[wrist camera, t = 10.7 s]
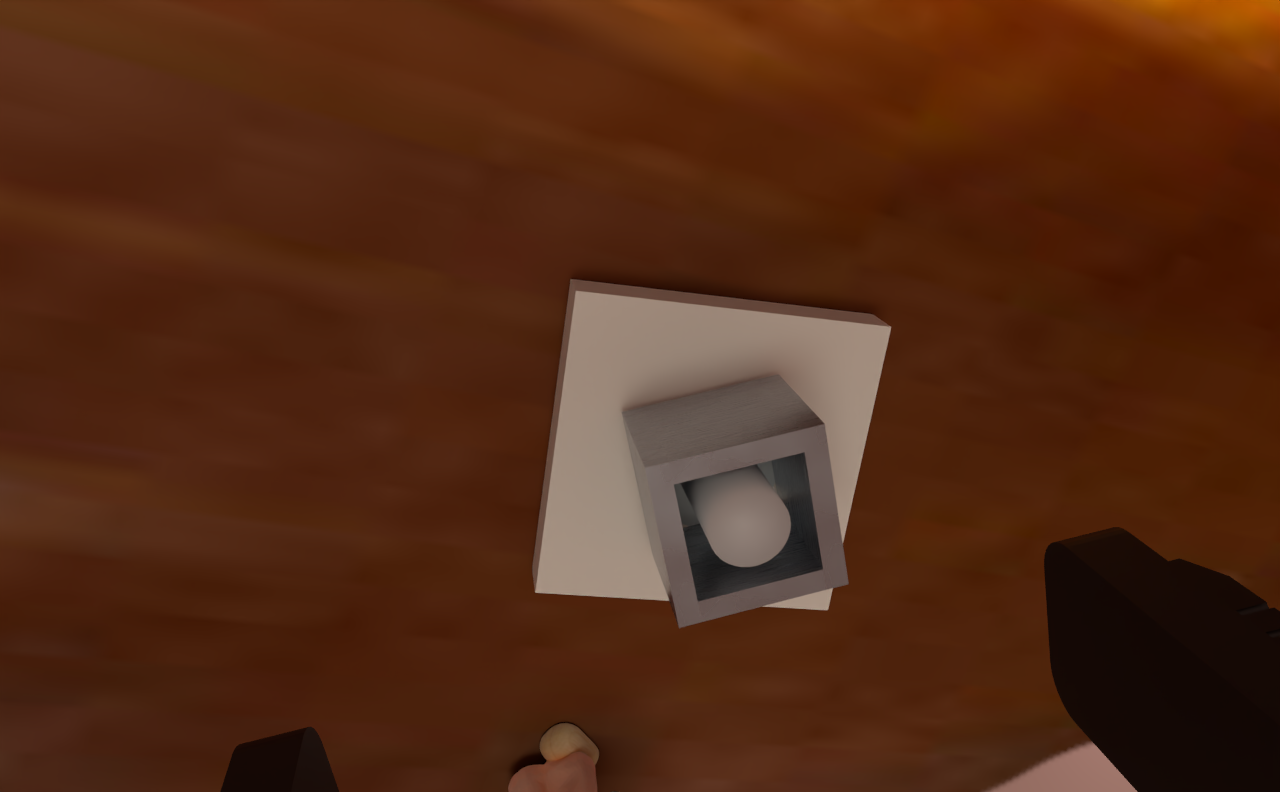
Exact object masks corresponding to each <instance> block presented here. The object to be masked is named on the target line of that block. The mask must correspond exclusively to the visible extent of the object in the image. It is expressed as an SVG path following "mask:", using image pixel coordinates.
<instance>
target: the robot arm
mask: <svg viewBox="0 0 1280 792" xmlns="http://www.w3.org/2000/svg"><path fill="white" fill-rule="evenodd" d="M1044 569H1045V585H1046V600H1047V616H1048V631H1049V647H1050V662H1051V669H1052V674H1053V678H1054V682H1055V685H1056V688H1057V691H1058V693H1059V696H1060V698H1061V700H1062V702H1063V704H1064V706H1065V708H1066V710H1067V712H1068V713H1069V715H1070V716H1071V718H1072V719H1073V720H1074V721H1075V723H1076V724H1077V725H1078V726H1079V727H1080V728H1081V729H1082V731H1083V732H1084V733H1085V734H1086V735H1087V736H1088V737H1089V738H1090V739H1091V741H1092V742H1093V743H1094V744H1095V745H1096V746H1097V747H1098V748H1099V749H1100V750H1101V752H1102V753H1103V754H1104V755H1105V756H1106V757H1107V758H1108V759H1109V760H1110V762H1111V763H1112V764H1113V765H1114V766H1115V767H1116V768H1117V769H1118V770H1119V772H1120V773H1121V774H1122V775H1123V776H1124V777H1125V778H1126V779H1127V780H1128V782H1129V783H1130V784H1131V785H1132V786H1133V787H1134V788H1135V789H1136V790H1137V791H1138V792H1280V611H1278V610H1277V609H1276V608H1271V609H1269V607H1268V606H1267V602H1266V601H1264V600H1263V599H1261V598H1260V597H1258V596H1257V595H1255V594H1254V593H1253V592H1251V591H1250V590H1248V589H1247V588H1245V587H1244V586H1243V585H1241V584H1240V583H1238V582H1237V581H1235V580H1234V579H1232V578H1231V577H1230V576H1227V575H1224V574H1221V573H1219V572H1216V571H1213V570H1210V569H1207V568H1205V567H1202V566H1199V565H1196V564H1193V563H1191V562H1188V561H1185V560H1182V559H1176V560H1172V561H1167V560H1166V559H1164V558H1163V557H1162V556H1160V555H1159V554H1158V553H1156V552H1155V551H1154V550H1152V549H1151V548H1149V547H1148V546H1147V545H1145V544H1144V543H1143V542H1141V541H1140V540H1139V539H1137V538H1136V537H1135V536H1133V535H1132V534H1130V533H1129V532H1128V531H1126V530H1124V529H1122V528H1119V527H1113V528H1109V529H1105V530H1101V531H1097V532H1093V533H1089V534H1086V535H1082V536H1078V537H1074V538H1070V539H1066V540H1062V541H1058V542H1054V543H1051V544H1050V545H1049V546H1048V548H1047V549H1046V553H1045V559H1044ZM221 792H339V790H338V787H337V784H336V782H335V779H334V776H333V773H332V770H331V767H330V764H329V761H328V758H327V755H326V752H325V749H324V747H323V744H322V741H321V739H320V737H319V735H318V733H317V732H316V731H315V729H314V728H312V727H307V728H303V729H299V730H295V731H291V732H287V733H283V734H279V735H275V736H271V737H267V738H263V739H259V740H255V741H251V742H247V743H243V744H239V745H238V746H237V747H236V748H235V750H234V752H233V754H232V757H231V761H230V764H229V767H228V770H227V773H226V776H225V779H224V783H223V786H222V789H221Z"/></svg>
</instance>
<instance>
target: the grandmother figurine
mask: <svg viewBox="0 0 1280 792" xmlns="http://www.w3.org/2000/svg"><path fill="white" fill-rule="evenodd" d="M540 751H541V754H542V755H543V757H544V758H545V759H546V760H547V761H546V763H545V764H544V765H542V764H539V765H529V766H526V767H524V768H522V769H520V770H519V771H518V772H517V773H516V774H514V776H513V777H512V778H511V780H510V783H509V786H508V790H509V792H597V781H596V770H595V765H596V763H597V760H598V758H599V750H598V748H597V746H596V745H595V744H594V743H593V742H592V741H591V740H590V739H589V738H588V737H587V736H586V735H585V733H583V732H582V731H581V730H580V729H579V728H578V727H577V726H575V725H573V724H569V723H560V724H557V725H555V726H553V727H551V728H550V729H549V730H548V731H547V732H546V733H545V734H544V735H543V737H542V738H541V741H540ZM612 792H617V791H612Z"/></svg>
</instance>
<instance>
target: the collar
mask: <svg viewBox="0 0 1280 792" xmlns="http://www.w3.org/2000/svg"><path fill="white" fill-rule="evenodd" d="M622 417H623V421H624V426H625V431H626V435H627V440H628V444H629V449H630V454H631V458H632V463H633V467H634V472H635V477H636V481H637V486H638V490H639V495H640V500H641V504H642V509H643V513H644V518H645V523H646V527H647V532H648V536H649V541H650V546H651V550H652V555H653V558H654V560H655V563H656V566H657V569H658V571H659V574H660V577H661V580H662V582H663V585H664V588H665V591H666V593H667V596H668V599H669V602H670V604H671V607H672V610H673V613H674V615H675V618H676V621H677V624H678V626H679V628H680V627H684V626H688V625H692V624H696V623H700V622H704V621H708V620H711V619H715V618H719V617H723V616H727V615H731V614H735V613H738V612H742V611H746V610H750V609H754V608H758V607H762V606H765V605H769V604H773V603H777V602H781V601H785V600H789V599H793V598H796V597H800V596H804V595H808V594H812V593H816V592H820V591H823V590H827V589H831V588H835V587H839V586H843V585H847V584H849V583H848V577H847V570H846V563H845V557H844V550H843V543H842V536H841V530H840V523H839V516H838V509H837V503H836V496H835V489H834V483H833V476H832V469H831V462H830V456H829V449H828V442H827V435H826V429H825V424H824V423H823V421H822V420H821V419H820V418H819V417H818V416H817V415H816V414H815V413H814V412H813V411H812V410H811V409H810V408H809V406H808V405H807V404H806V403H805V402H804V401H803V400H802V399H801V398H800V397H799V396H798V395H797V394H796V392H795V391H794V390H793V389H792V388H791V387H790V386H789V385H788V384H787V383H786V382H785V381H784V380H783V379H782V377H781V376H780V375H779V374H777V375H773V376H769V377H764V378H760V379H756V380H752V381H748V382H744V383H740V384H735V385H731V386H727V387H723V388H719V389H715V390H711V391H706V392H702V393H698V394H694V395H690V396H686V397H681V398H677V399H673V400H669V401H665V402H661V403H657V404H652V405H648V406H644V407H640V408H636V409H632V410H628V411H623V412H622ZM767 461H772V467H773V473H774V479H775V484H776V490H777V494H778V496H779V497H780V499H781V500H782V502H783V503H784V505H785V506H786V508H787V510H788V512H789V515H790V520H791V528H790V534H789V537H788V540H787V542H786V544H785V545H784V547H783V548H782V549H781V551H780V552H779V553H778V554H777V555H776V556H774V557H773V558H772V559H770V560H769V561H767V562H765V563H763V564H760V565H757V566H753V567H738V566H734V565H731V564H728V563H726V562H724V561H723V560H721V559H720V558H719V557H718V556H717V555H716V554H715V552H714V551H713V549H712V547H711V545H710V543H709V541H708V539H707V537H706V535H705V533H704V531H703V529H702V527H701V525H700V524H696V525H692V526H688V527H684V528H683V527H682V522H681V517H680V512H679V507H678V503H677V498H676V493H675V488H674V484H678V483H682V482H686V481H690V480H694V479H698V478H702V477H706V476H710V475H714V474H718V473H722V472H726V471H730V470H735V469H739V468H743V467H747V466H751V465H755V464H759V463H763V462H767Z"/></svg>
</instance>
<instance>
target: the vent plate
mask: <svg viewBox="0 0 1280 792" xmlns="http://www.w3.org/2000/svg"><path fill="white" fill-rule="evenodd" d="M890 331H891V326H889V325H888V324H886V323H885V322H883V321H882V320H880V319H879V318H877V317H876V316H875V315H873V314H867V313H859V312H850V311H841V310H833V309H824V308H816V307H807V306H799V305H790V304H781V303H773V302H764V301H756V300H747V299H739V298H730V297H721V296H713V295H704V294H696V293H687V292H679V291H670V290H661V289H653V288H644V287H636V286H627V285H619V284H610V283H601V282H593V281H584V280H576V279H571V280H570V287H569V295H568V302H567V310H566V318H565V325H564V333H563V340H562V348H561V355H560V363H559V370H558V378H557V385H556V393H555V400H554V408H553V415H552V423H551V431H550V438H549V446H548V453H547V461H546V468H545V476H544V483H543V491H542V498H541V506H540V513H539V521H538V529H537V536H536V544H535V551H534V559H533V566H532V571H533V579H534V587H535V593H549V594H566V595H582V596H599V597H616V598H632V599H649V600H665V601H669V599H668V596H667V593H666V591H665V588H664V585H663V582H662V580H661V577H660V574H659V571H658V569H657V566H656V563H655V560H654V558H653V555H652V550H651V546H650V541H649V536H648V532H647V527H646V523H645V518H644V513H643V509H642V504H641V500H640V495H639V490H638V486H637V481H636V477H635V472H634V467H633V463H632V458H631V454H630V449H629V444H628V440H627V435H626V431H625V426H624V421H623V417H622V412H623V411H628V410H632V409H636V408H640V407H644V406H648V405H652V404H657V403H661V402H665V401H669V400H673V399H677V398H681V397H686V396H690V395H694V394H698V393H702V392H706V391H711V390H715V389H719V388H723V387H727V386H731V385H735V384H740V383H744V382H748V381H752V380H756V379H760V378H764V377H769V376H773V375H777V374H779V375H780V376H781V377H782V379H783V380H784V381H785V382H786V383H787V384H788V385H789V386H790V387H791V388H792V389H793V390H794V391H795V392H796V394H797V395H798V396H799V397H800V398H801V399H802V400H803V401H804V402H805V403H806V404H807V405H808V406H809V408H810V409H811V410H812V411H813V412H814V413H815V414H816V415H817V416H818V417H819V418H820V419H821V420H822V421H823V423H824V424H825V429H826V435H827V442H828V449H829V456H830V462H831V469H832V476H833V483H834V489H835V496H836V503H837V509H838V516H839V523H840V530H841V536H842V543H843V541H844V536H845V532H846V527H847V523H848V518H849V514H850V509H851V505H852V500H853V496H854V491H855V487H856V483H857V478H858V474H859V469H860V465H861V460H862V456H863V451H864V447H865V442H866V438H867V433H868V429H869V424H870V420H871V415H872V411H873V407H874V402H875V398H876V393H877V389H878V384H879V380H880V375H881V371H882V366H883V362H884V357H885V353H886V348H887V344H888V339H889V335H890ZM674 488H675V493H676V498H677V503H678V507H679V512H680V517H681V522H682V527H683V528H684V527H688V526H692V525H696V524H700V525H701V527H702V529H703V531H704V533H705V535H706V537H707V539H708V541H709V543H710V545H711V547H712V549H713V551H714V552H715V554H716V555H717V556H718V557H719V558H720V559H721V560H723V561H724V562H726V563H728V564H731V565H734V566H738V567H753V566H757V565H760V564H763V563H765V562H767V561H769V560H770V559H772V558H773V557H774V556H776V555H777V554H778V553H779V552H780V551H781V549H782V548H783V547H784V545H785V544H786V542H787V540H788V537H789V534H790V528H791V520H790V515H789V512H788V510H787V508H786V506H785V505H784V503H783V502H782V500H781V499H780V497H779V496H778V494H777V490H776V484H775V479H774V473H773V467H772V461H767V462H763V463H759V464H755V465H751V466H747V467H743V468H739V469H735V470H730V471H726V472H722V473H718V474H714V475H710V476H706V477H702V478H698V479H694V480H690V481H686V482H682V483H678V484H674ZM832 590H833V588H831V589H827V590H823V591H820V592H816V593H812V594H808V595H804V596H800V597H796V598H793V599H789V600H785V601H781V602H777V603H773V604H769V605H765V606H764V607H781V608H797V609H814V610H828V608H829V603H830V599H831V594H832Z"/></svg>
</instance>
